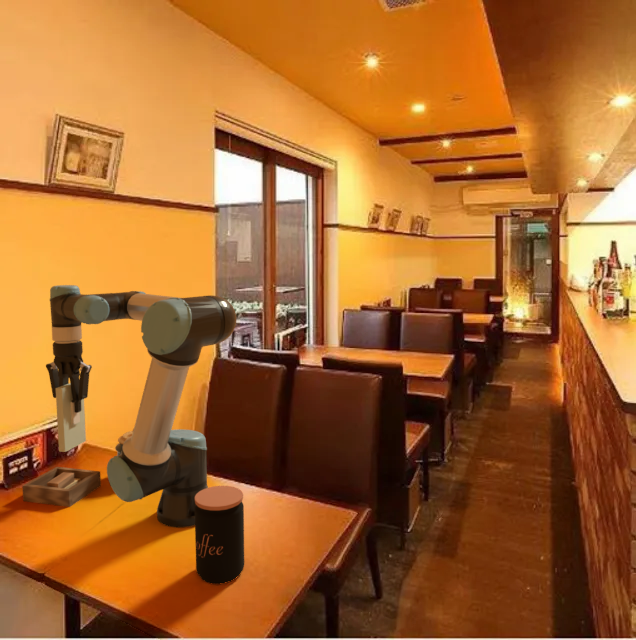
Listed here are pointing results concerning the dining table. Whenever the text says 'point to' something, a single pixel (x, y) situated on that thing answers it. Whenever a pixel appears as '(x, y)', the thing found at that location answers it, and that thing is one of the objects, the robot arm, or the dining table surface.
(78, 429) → the panel
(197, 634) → the dining table surface
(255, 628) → the dining table surface
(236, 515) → the coffee jar
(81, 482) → the tray
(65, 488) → the offcut bottom
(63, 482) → the offcut top
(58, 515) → the dining table surface
